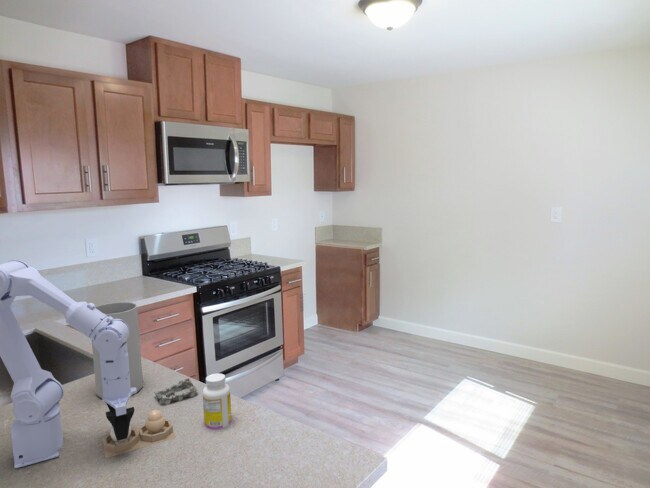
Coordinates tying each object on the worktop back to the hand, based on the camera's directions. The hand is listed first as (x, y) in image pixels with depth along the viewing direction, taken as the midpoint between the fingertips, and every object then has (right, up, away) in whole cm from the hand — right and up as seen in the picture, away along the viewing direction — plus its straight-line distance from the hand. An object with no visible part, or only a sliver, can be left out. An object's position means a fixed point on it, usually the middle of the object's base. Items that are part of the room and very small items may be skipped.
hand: (120, 430), depth 101 cm
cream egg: (0, -3, 0) cm, 3 cm away
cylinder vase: (-13, 0, +28) cm, 31 cm away
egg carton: (+5, -1, +23) cm, 23 cm away
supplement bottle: (+20, -3, +9) cm, 22 cm away
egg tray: (+3, -4, +2) cm, 6 cm away
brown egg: (+7, -2, +4) cm, 8 cm away
